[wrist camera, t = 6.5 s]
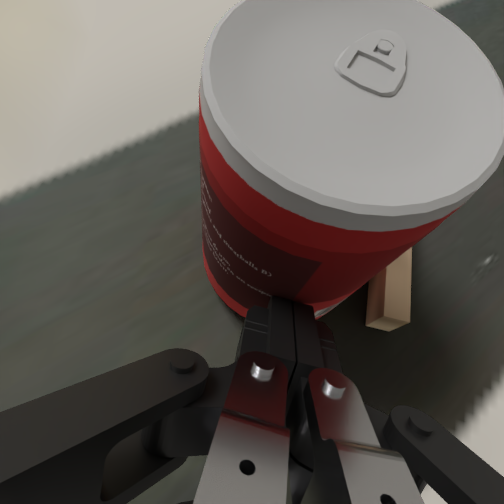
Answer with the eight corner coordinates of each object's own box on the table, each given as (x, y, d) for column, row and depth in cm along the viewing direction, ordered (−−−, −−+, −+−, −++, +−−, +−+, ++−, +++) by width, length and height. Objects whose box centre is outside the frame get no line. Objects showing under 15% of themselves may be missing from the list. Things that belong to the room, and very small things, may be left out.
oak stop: (389, 331, 18) (429, 313, 14) (250, 297, 17) (260, 272, 14) (397, 162, 22) (429, 120, 19) (287, 134, 22) (301, 87, 19)
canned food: (358, 211, 20) (507, 16, 10) (337, 351, 17) (529, 265, 7) (228, 174, 20) (249, -57, 10) (181, 307, 17) (145, 155, 7)
